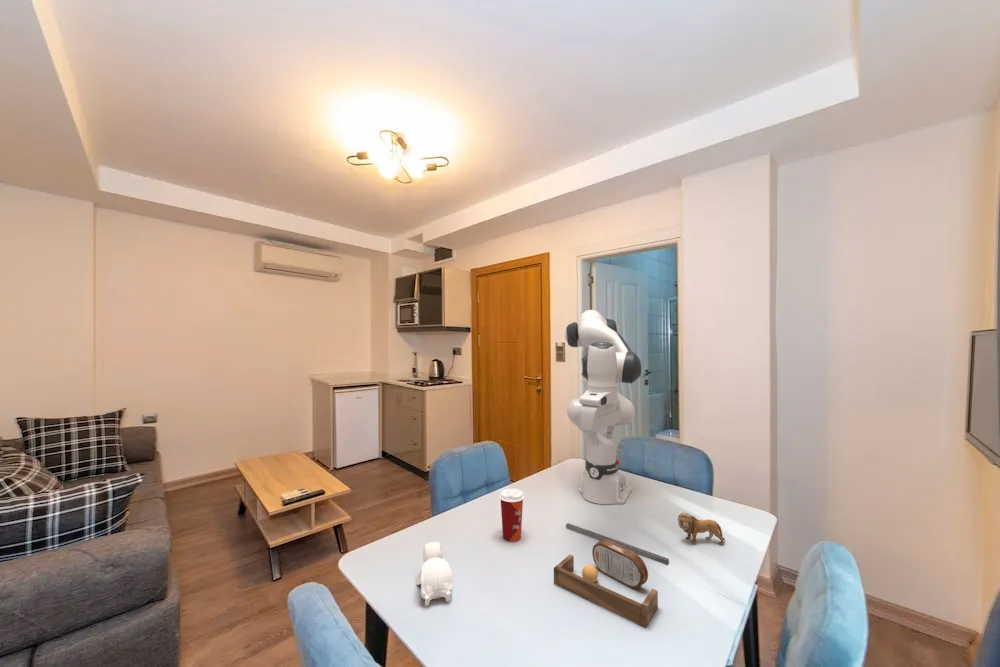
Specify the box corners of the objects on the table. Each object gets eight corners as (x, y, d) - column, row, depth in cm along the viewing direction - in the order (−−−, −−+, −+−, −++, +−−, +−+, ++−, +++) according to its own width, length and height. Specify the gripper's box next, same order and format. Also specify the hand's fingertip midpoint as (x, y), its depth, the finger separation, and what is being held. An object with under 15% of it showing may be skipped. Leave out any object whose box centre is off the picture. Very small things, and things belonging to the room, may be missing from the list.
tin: (648, 590, 95) (648, 556, 95) (642, 596, 93) (642, 561, 93) (597, 564, 107) (597, 533, 107) (590, 568, 105) (590, 537, 105)
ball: (581, 583, 99) (587, 582, 96) (578, 565, 101) (584, 564, 98) (595, 582, 100) (602, 581, 97) (592, 565, 102) (598, 563, 99)
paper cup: (522, 545, 116) (522, 498, 117) (497, 542, 118) (497, 496, 118) (525, 532, 124) (525, 488, 124) (502, 529, 126) (502, 486, 126)
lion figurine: (683, 547, 115) (683, 517, 115) (674, 538, 120) (673, 509, 120) (730, 545, 116) (730, 515, 116) (719, 536, 121) (718, 507, 121)
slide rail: (567, 526, 128) (567, 522, 128) (668, 563, 107) (668, 558, 107) (565, 528, 127) (565, 524, 127) (667, 565, 106) (667, 560, 106)
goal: (569, 569, 104) (569, 554, 104) (657, 607, 89) (657, 590, 89) (553, 583, 98) (553, 567, 98) (645, 627, 83) (645, 609, 83)
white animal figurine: (454, 609, 93) (446, 555, 107) (456, 585, 90) (448, 532, 104) (418, 617, 91) (414, 560, 104) (419, 592, 88) (415, 537, 101)
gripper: (607, 391, 127) (607, 433, 126) (576, 399, 111) (576, 447, 111) (626, 392, 122) (626, 436, 122) (596, 401, 107) (597, 451, 107)
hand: (602, 441), depth 116 cm, fingers open, 8 cm apart
